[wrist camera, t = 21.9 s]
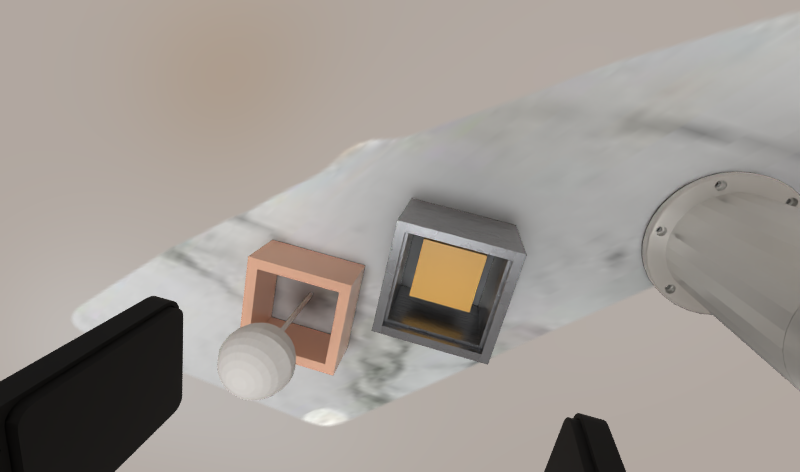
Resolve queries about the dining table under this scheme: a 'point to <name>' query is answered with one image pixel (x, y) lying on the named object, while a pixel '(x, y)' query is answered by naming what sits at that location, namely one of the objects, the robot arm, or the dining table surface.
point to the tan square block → (447, 274)
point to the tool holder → (311, 269)
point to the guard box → (438, 322)
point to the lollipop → (258, 359)
